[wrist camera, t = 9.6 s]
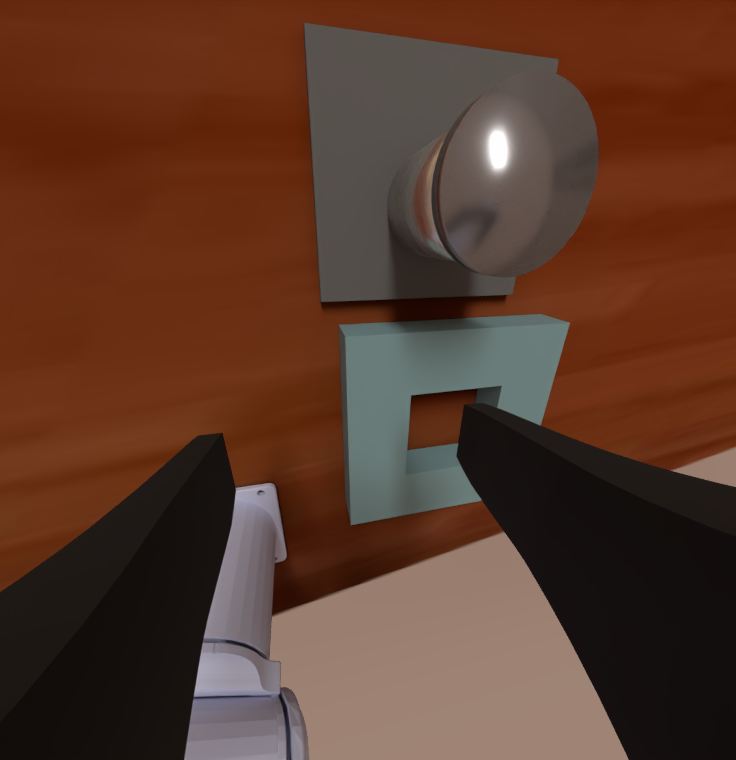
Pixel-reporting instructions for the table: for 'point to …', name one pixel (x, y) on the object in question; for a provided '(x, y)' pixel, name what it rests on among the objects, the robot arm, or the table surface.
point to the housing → (431, 375)
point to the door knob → (501, 179)
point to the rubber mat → (387, 152)
